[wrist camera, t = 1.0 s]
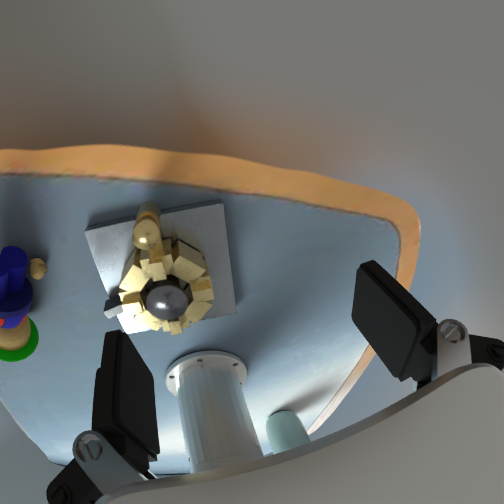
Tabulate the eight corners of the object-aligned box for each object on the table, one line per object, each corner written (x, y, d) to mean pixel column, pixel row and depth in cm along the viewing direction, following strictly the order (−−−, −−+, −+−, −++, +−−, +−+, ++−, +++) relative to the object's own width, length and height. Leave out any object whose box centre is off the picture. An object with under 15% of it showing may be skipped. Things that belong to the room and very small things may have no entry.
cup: (302, 405, 55) (319, 442, 47) (284, 422, 58) (298, 457, 49) (272, 406, 52) (288, 447, 43) (255, 424, 54) (269, 462, 46)
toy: (-56, 244, 14) (-36, 345, 19) (-36, 299, 13) (-6, 396, 18) (26, 223, 25) (25, 316, 30) (62, 262, 24) (58, 356, 29)
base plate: (234, 306, 35) (245, 338, 31) (122, 327, 32) (119, 361, 28) (221, 199, 28) (232, 221, 23) (82, 227, 25) (66, 255, 20)
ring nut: (213, 303, 32) (222, 334, 28) (138, 317, 30) (137, 349, 26) (195, 192, 25) (200, 213, 21) (101, 212, 24) (89, 236, 19)
